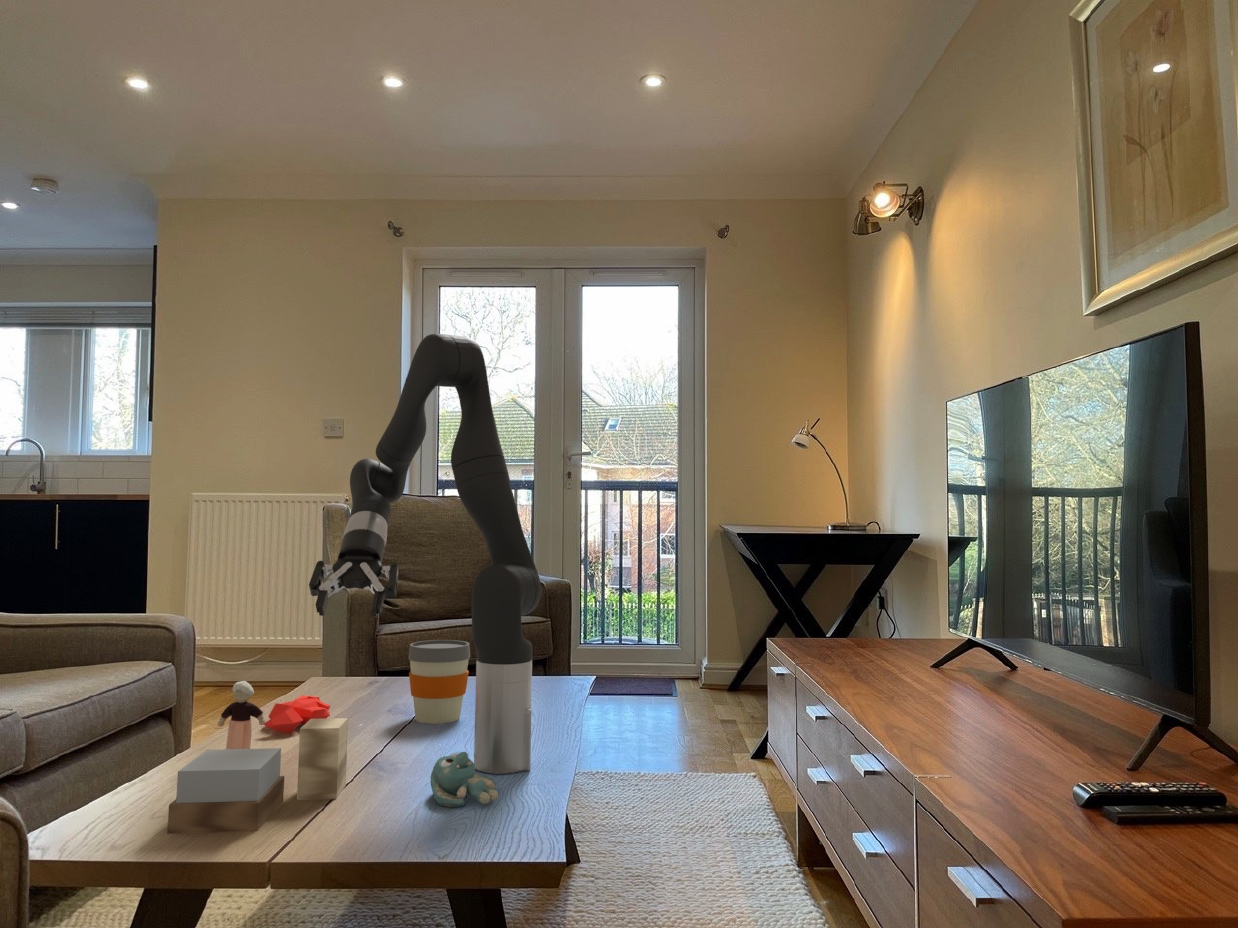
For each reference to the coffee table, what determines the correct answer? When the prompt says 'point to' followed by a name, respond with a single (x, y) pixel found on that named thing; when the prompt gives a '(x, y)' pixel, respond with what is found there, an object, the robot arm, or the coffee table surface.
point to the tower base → (225, 813)
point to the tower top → (228, 775)
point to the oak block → (322, 759)
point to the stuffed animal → (460, 781)
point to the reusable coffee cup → (438, 679)
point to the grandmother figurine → (241, 717)
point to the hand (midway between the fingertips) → (347, 613)
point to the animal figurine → (296, 713)
